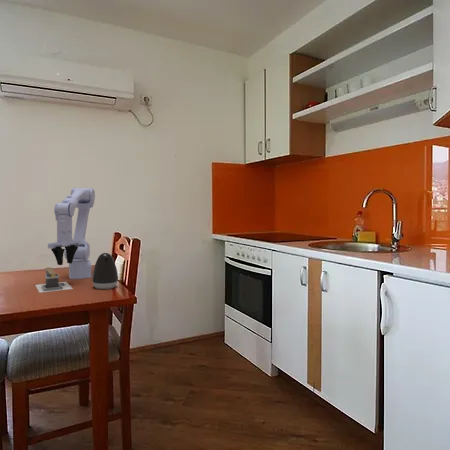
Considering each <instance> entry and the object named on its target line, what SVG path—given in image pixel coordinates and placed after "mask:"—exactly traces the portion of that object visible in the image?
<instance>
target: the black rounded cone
mask: <svg viewBox="0 0 450 450" xmlns="http://www.w3.org/2000/svg"><path fill="white" fill-rule="evenodd" d="M115 262H116V261H115V259H114V258H113V256H112V254H110V253H108V252H103V253H101V254H99V255H98V257H97V259H96V261H95V263H94V268H93V271H92V276H91V278H92V279H91V282H92V284H93V286H94V288H95V289H98V290H111V289H114V288H116V286H117V284H118V281H119V274H118V268H117V265H116V263H115Z"/></svg>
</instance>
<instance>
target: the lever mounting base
mask: <svg viewBox="0 0 450 450" xmlns="http://www.w3.org/2000/svg"><path fill="white" fill-rule="evenodd" d="M47 274H49V272H48V271H47V270H45V275H47ZM58 283H64V284H65V286H62V285H61V284H58V287H52V288H46V283H40V284H35V287H36V289H37V291H38V293H39V294H40V293H48V292H57V291H66V290H73V289H74V288H73V287H72V286H71V285H70V284H69V282H67V281H60V282H59V281H58Z"/></svg>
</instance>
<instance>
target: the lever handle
mask: <svg viewBox="0 0 450 450" xmlns="http://www.w3.org/2000/svg"><path fill="white" fill-rule="evenodd" d="M44 270H45V271H46V270H47V271H48V272H49V274H50V275H51V278H56V277H55V274H56V272H55V270H53V267H45V268H44Z"/></svg>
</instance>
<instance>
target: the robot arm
mask: <svg viewBox="0 0 450 450" xmlns="http://www.w3.org/2000/svg"><path fill="white" fill-rule="evenodd" d="M95 198H96V194H95V189H94V188H93V187H90V188H89V187H88V188H87V187H82V188H81V187H72V189H71V190H70V194H69V195H67V196H65V198H64V199H63V200H61V202H58V203H56V204H55V205H54V209H53V211H54V216H55V221H56V231H57V232H56V241H55V242H49V243H47V249H50V251H52V253H53V255H54V257H55V261H56V263H57V264H56V265H58V266H62V265H64V264H63V263H64V258H65V259H66V263H67V264H68V278H69V279H70V280H81V279H89V278H92V261H91V260H90V259H89V258H90V254H91V253H90V252H91V251H90V249H91V247H90V243H89V242H88V241H86V233H87V227H88V220H89V213H90V210H91V209H92V208H93V207H94V205H95V200H96V199H95ZM76 208H77V209H78V211H77V215H76V216H77V217H76V222H75V228H74V233H73V216H74V215H75V211H76Z"/></svg>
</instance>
